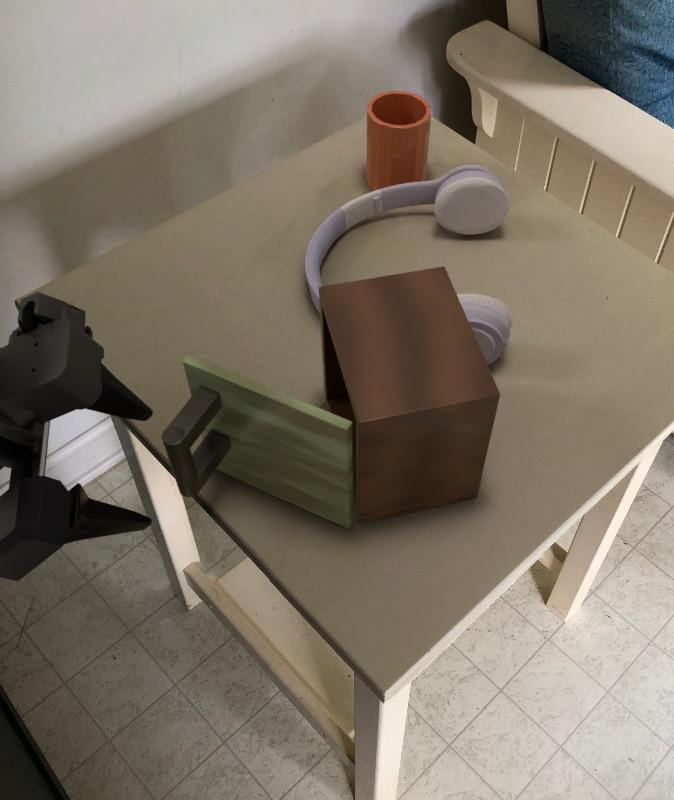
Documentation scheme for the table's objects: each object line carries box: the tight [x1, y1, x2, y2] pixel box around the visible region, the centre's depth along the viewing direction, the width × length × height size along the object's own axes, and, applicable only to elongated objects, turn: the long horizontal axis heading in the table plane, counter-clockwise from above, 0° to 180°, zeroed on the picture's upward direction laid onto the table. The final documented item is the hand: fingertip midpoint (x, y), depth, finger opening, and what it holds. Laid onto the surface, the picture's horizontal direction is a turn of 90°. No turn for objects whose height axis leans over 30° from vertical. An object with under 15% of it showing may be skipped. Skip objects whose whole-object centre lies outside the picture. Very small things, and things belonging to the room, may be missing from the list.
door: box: [161, 353, 354, 529], centre depth 60 cm, size 6×13×14 cm, turn 65°
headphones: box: [304, 164, 513, 366], centre depth 80 cm, size 22×7×20 cm
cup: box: [365, 90, 432, 192], centre depth 89 cm, size 7×7×9 cm
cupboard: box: [319, 266, 501, 525], centre depth 65 cm, size 10×13×14 cm
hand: (149, 467), depth 59 cm, fingers open, 9 cm apart
